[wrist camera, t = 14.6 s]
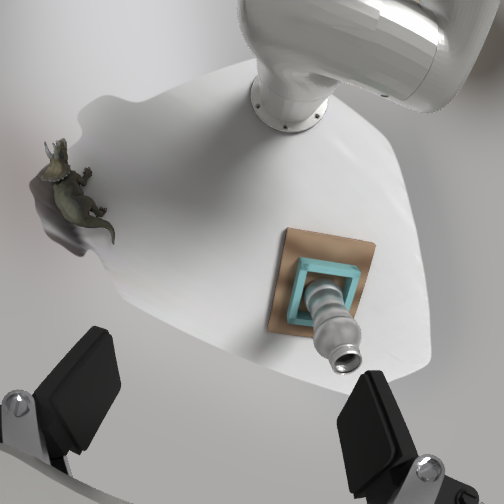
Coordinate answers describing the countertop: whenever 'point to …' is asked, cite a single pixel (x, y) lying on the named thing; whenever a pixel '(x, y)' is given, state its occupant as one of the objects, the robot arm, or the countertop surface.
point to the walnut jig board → (316, 276)
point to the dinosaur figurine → (73, 191)
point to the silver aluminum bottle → (333, 326)
